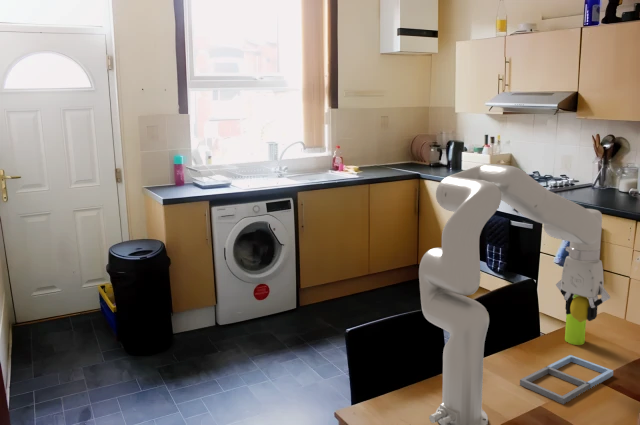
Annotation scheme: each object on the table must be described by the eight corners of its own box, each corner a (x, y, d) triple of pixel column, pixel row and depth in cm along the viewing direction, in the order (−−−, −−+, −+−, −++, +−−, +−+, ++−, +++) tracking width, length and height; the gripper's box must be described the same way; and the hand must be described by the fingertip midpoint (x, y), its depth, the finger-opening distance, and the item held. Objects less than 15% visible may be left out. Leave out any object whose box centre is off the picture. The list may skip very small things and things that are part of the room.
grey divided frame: (563, 404, 144) (563, 398, 144) (519, 384, 154) (520, 379, 154) (612, 375, 158) (613, 370, 158) (569, 359, 169) (570, 354, 168)
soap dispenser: (558, 340, 182) (561, 281, 179) (573, 336, 185) (577, 278, 181) (573, 346, 177) (577, 287, 173) (588, 342, 180) (592, 283, 176)
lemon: (593, 326, 153) (595, 298, 151) (571, 325, 154) (573, 298, 152) (588, 318, 158) (589, 292, 157) (567, 317, 159) (568, 291, 158)
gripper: (547, 250, 157) (545, 311, 160) (608, 263, 143) (603, 329, 147) (562, 245, 161) (559, 304, 165) (623, 257, 147) (618, 322, 151)
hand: (580, 315), depth 156 cm, fingers closed on lemon, 5 cm apart
